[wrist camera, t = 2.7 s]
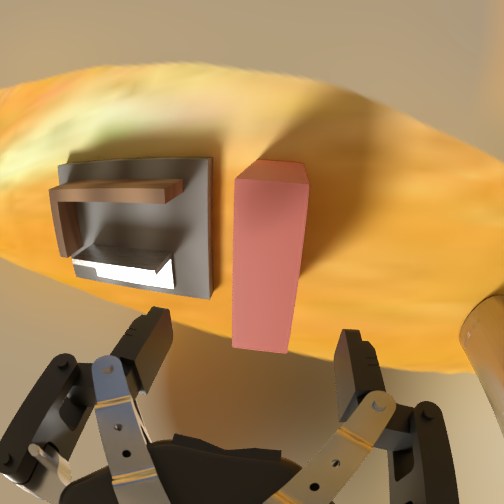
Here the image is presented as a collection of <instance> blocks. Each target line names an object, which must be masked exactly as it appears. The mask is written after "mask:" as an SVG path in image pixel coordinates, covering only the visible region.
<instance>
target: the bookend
mask: <svg viewBox="0 0 504 504" xmlns="http://www.w3.org/2000/svg"><path fill="white" fill-rule="evenodd" d="M72 261H73V264H77V265H83V266H88V267H94V268H96V271H97V276H100V277H105V278H111V279H117V280H122V281H128V282H134V283H140V284H146V285H153V286H159V287H165V288H172V289H174V287H175V282H174V272H173V261H172V252H168V251H159V250H150V249H141V248H132V247H123V246H114V245H105V244H96V243H93V244H91V245H90V246H88V247H87V248H86V249H84V250H83V251H81V252H80V253H79V254H77V255H76V256H75V257H73V258H72Z"/></svg>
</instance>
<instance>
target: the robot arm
mask: <svg viewBox="0 0 504 504" xmlns="http://www.w3.org/2000/svg"><path fill="white" fill-rule="evenodd" d="M172 341H173V330H172V324H171V317H170V311H169V309H166V308H160V307H155V306H153V307H152V308H151V309H150V311H149V312H148V314H147V315H141V316H140V317H138V318H137V319H135V320H134V321H133V322H132V324H131V325H130V327H129V329H127V331H126V332H125V335H123V337H122V338H121V339H120V341H119V343H118V344H117V345H116V347H115V348H114V350H113V351H112V353H111V354H110V355H106V356H102V357H99V358H98V359H96V360H95V361H94V363H77V361H76V359H75V357H74V356H73V355H71V354H66V353H64V354H60V355H58V356H56V357H55V358H53V360H52V361H51V362H50V364H49V365H48V366H47V368H46V369H45V371H44V372H43V374H42V375H41V376H40V378H39V379H38V381H37V382H36V384H35V385H34V387H33V388H32V390H31V391H30V393H29V394H28V396H27V397H26V399H25V401H24V402H23V404H22V405H21V407H20V408H19V410H18V412H17V413H16V415H15V417H14V419H13V420H12V422H11V423H10V425H9V427H8V428H7V430H6V432H5V434H4V435H3V437H2V439H1V441H0V472H1V473H2V474H3V475H5V476H6V477H7V478H9V479H10V480H11V481H12V482H13V483H14V484H16V485H17V486H19V487H20V488H22V489H23V490H25V491H27V492H29V493H31V494H33V495H34V496H36V497H38V498H39V499H42V500H46V501H47V502H49V503H51V504H335V503H334V502H333V501H332V500H333V499H334V498H335V496H336V495H337V494H338V493H339V492H340V491H341V489H342V488H343V487H344V486H345V485H346V483H347V482H348V481H349V480H350V478H351V477H352V476H353V475H354V473H355V472H356V471H357V469H358V468H359V467H360V465H361V464H362V463H363V461H364V460H365V458H366V457H367V455H368V454H369V453H370V451H371V450H372V448H373V447H376V448H380V449H385V450H387V452H388V467H389V486H390V504H459V498H458V489H457V482H456V475H455V469H454V464H453V458H452V453H451V449H450V444H449V440H448V435H447V431H446V426H445V422H444V419H443V415H442V411H441V409H440V408H439V407H438V406H437V405H436V404H434V403H432V402H429V401H424V402H420V403H419V404H417V406H416V407H415V408H413V407H408V406H403V405H399V404H397V403H396V402H395V400H394V398H393V397H392V396H391V395H390V394H388V393H387V392H386V390H385V386H384V382H383V378H382V374H381V370H380V366H379V363H378V359H377V355H376V352H375V349H374V347H373V346H372V345H371V344H370V343H369V341H362V339H361V335H360V331H359V330H352V329H343V330H342V332H341V335H340V338H339V341H338V344H337V348H336V351H335V354H334V373H335V384H336V394H337V404H338V417H339V422H346V423H345V424H344V425H343V426H342V427H341V428H339V429H338V430H337V432H335V434H334V435H333V436H332V437H331V438H330V439H329V440H328V442H327V443H326V444H325V445H324V446H323V447H322V448H321V449H320V450H319V452H318V453H317V454H316V455H315V456H314V457H313V458H312V459H311V460H310V461H309V462H308V463H307V464H306V465H305V466H304V467H303V468H302V467H301V466H300V465H298V464H296V463H295V462H293V461H291V460H289V459H286V458H283V457H281V450H269V449H259V448H251V449H250V448H249V449H236V450H224V449H222V448H219V447H217V446H214V445H212V444H210V443H207V442H205V441H203V440H201V439H196V438H192V437H188V436H183V435H179V434H174V437H173V440H170V439H169V440H160V441H156V442H152V441H151V439H150V436H149V434H148V432H147V429H146V427H145V424H144V421H143V418H142V415H141V413H140V410H139V407H138V404H137V401H136V397H137V395H138V393H141V394H144V395H147V393H148V391H149V389H150V387H151V385H152V383H153V381H154V379H155V377H156V375H157V373H158V371H159V369H160V367H161V364H162V363H163V361H164V358H165V356H166V355H167V353H168V351H169V349H170V347H171V344H172ZM460 344H461V346H462V348H463V349H464V351H465V353H466V355H467V357H468V359H469V361H470V362H471V365H472V367H473V368H474V370H475V372H476V374H477V376H478V378H479V380H480V383H481V385H482V387H483V389H484V391H485V393H486V395H487V398H488V400H489V402H490V404H491V407H492V409H493V411H494V414H495V416H496V418H497V421H498V423H499V426H500V429H501V431H502V434H503V436H504V296H502V295H496V296H492V297H490V298H488V299H486V300H484V301H483V302H481V303H480V304H479V305H478V306H477V307H476V308H475V309H474V310H473V311H472V312H471V313H470V315H469V316H468V317H467V319H466V321H465V322H464V324H463V326H462V329H461V332H460ZM63 401H64V402H63ZM94 407H95V413H96V418H97V423H98V427H99V432H100V436H101V440H102V444H103V448H104V451H105V455H106V459H107V462H108V466H106V467H104V468H101V469H100V470H97V471H95V472H93V473H91V474H89V475H87V476H85V477H82V478H80V479H78V480H76V481H73V482H71V483H70V480H71V467H70V464H69V463H68V461H69V458H70V456H71V454H72V452H73V449H74V447H75V445H76V443H77V441H78V439H79V437H80V435H81V432H82V430H83V428H84V426H85V424H86V422H87V420H88V418H89V416H90V414H91V412H92V410H93V408H94Z"/></svg>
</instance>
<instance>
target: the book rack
mask: <svg viewBox="0 0 504 504" xmlns="http://www.w3.org/2000/svg"><path fill="white" fill-rule="evenodd" d="M212 158H213V157H154V158H128V159H110V160H97V161H85V162H75V163H66V164H62V165H59V166H58V174H59V184H60V185H59V186H56V187H54V188H51V189H49V196H50V203H51V210H52V216H53V222H54V227H55V233H56V238H57V242H58V247H59V252H60V256H61V257H66V258H68V257H69V256H71V257H72V258H73V257H75V256H76V255H77V254H79V253H80V252H81V251H83V250H84V249H86V248H87V247H88V246H90V245H91V244H93V243H96V244H105V245H114V246H123V247H132V248H141V249H150V250H159V251H168V252H172V261H173V272H174V282H175V287H174V289H172V288H165V287H159V286H153V285H146V284H140V283H134V282H128V281H122V280H117V279H111V278H105V277H100V276H97V271H96V268H94V267H88V266H83V265H77V264H73V265H74V270H75V274H76V277H80V278H85V279H90V280H95V281H100V282H105V283H110V284H115V285H121V286H126V287H132V288H138V289H144V290H149V291H155V292H162V293H168V294H174V295H181V296H188V297H194V298H202V299H209V300H210V298H211V296H212V294H213V259H212Z"/></svg>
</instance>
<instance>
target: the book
mask: <svg viewBox="0 0 504 504" xmlns="http://www.w3.org/2000/svg"><path fill="white" fill-rule="evenodd" d="M309 188H310V184H309V180H308V177H307V174H306V170H305V167H304V164H303V163H297V162H286V161H274V160H259V159H257V160H256V161H255V162H254V163H252V164H251V165H250V166H249V167H248V168H247V169H245V170H244V171H243V172H242V173H241V174H240V175H238V176H237V177H236V178H235V190H234V230H233V291H232V347H236V348H243V349H251V350H259V351H268V352H277V353H287V349H288V344H289V338H290V332H291V326H292V319H293V313H294V307H295V300H296V294H297V287H298V280H299V273H300V265H301V258H302V250H303V242H304V234H305V225H306V217H307V208H308V198H309Z"/></svg>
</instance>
